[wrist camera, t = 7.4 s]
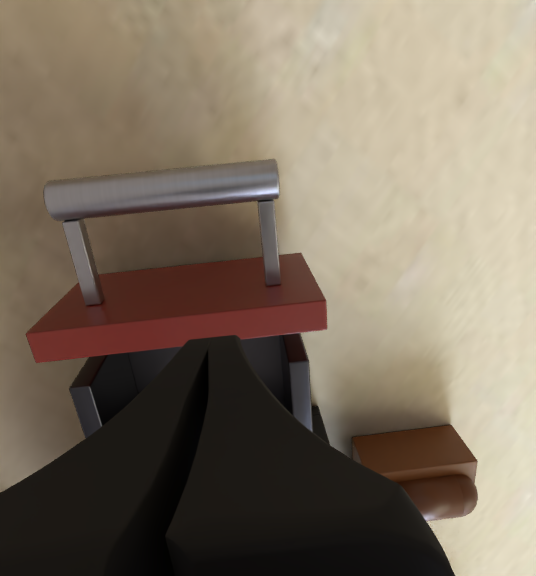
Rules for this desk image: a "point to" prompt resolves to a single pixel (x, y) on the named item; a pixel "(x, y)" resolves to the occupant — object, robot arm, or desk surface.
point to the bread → (424, 468)
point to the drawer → (177, 292)
